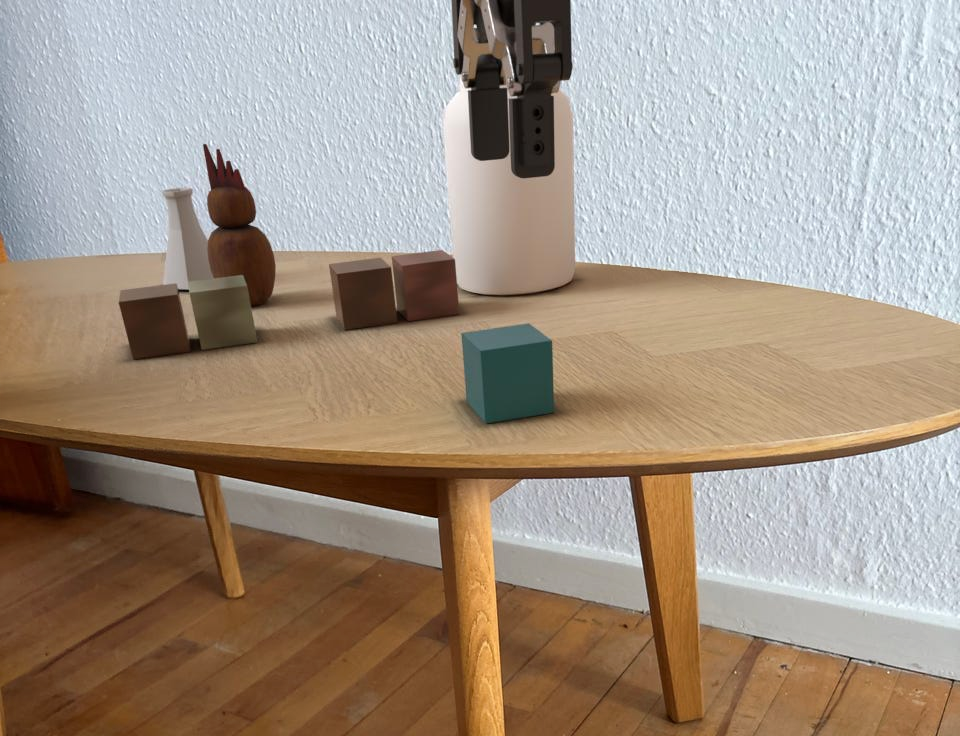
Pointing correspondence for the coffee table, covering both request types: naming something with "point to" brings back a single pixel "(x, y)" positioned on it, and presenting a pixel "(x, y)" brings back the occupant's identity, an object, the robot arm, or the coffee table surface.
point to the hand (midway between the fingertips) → (510, 167)
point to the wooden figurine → (237, 232)
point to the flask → (184, 241)
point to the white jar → (509, 210)
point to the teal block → (508, 372)
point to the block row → (228, 313)
